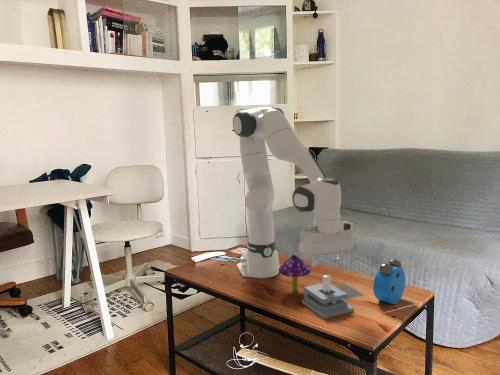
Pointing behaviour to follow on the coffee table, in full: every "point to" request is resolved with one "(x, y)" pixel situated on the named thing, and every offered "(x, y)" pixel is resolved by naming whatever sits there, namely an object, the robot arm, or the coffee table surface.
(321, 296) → the grey block with hole
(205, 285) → the coffee table surface
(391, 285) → the alarm clock
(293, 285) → the decorative mushroom
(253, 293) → the coffee table surface
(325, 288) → the steel pin
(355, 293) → the rubber mat
